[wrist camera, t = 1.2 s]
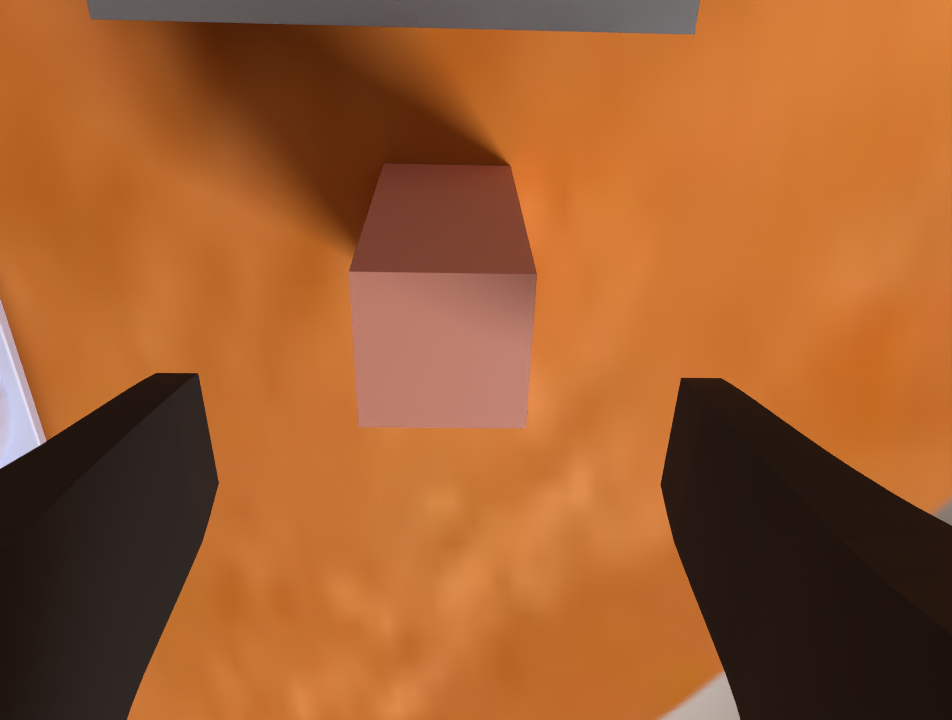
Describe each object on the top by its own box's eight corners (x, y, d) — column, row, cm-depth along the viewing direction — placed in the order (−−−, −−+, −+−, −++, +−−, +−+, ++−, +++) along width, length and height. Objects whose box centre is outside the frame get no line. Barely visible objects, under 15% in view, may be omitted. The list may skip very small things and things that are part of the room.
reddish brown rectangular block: (387, 279, 20) (358, 427, 14) (383, 163, 19) (348, 271, 12) (504, 281, 20) (525, 428, 14) (510, 165, 19) (536, 273, 13)
